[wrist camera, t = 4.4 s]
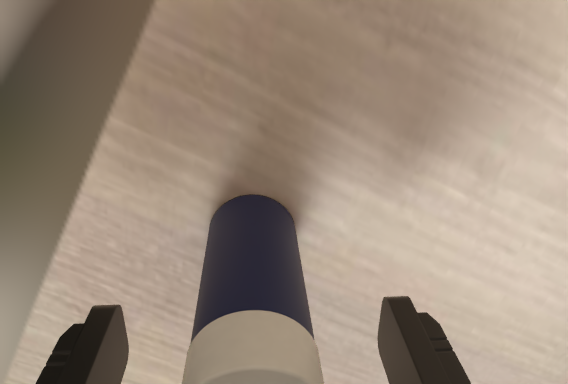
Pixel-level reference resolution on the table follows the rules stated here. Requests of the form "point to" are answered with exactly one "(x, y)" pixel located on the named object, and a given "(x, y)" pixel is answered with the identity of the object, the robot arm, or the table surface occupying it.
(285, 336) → the blue bottle
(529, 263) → the table surface
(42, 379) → the robot arm
